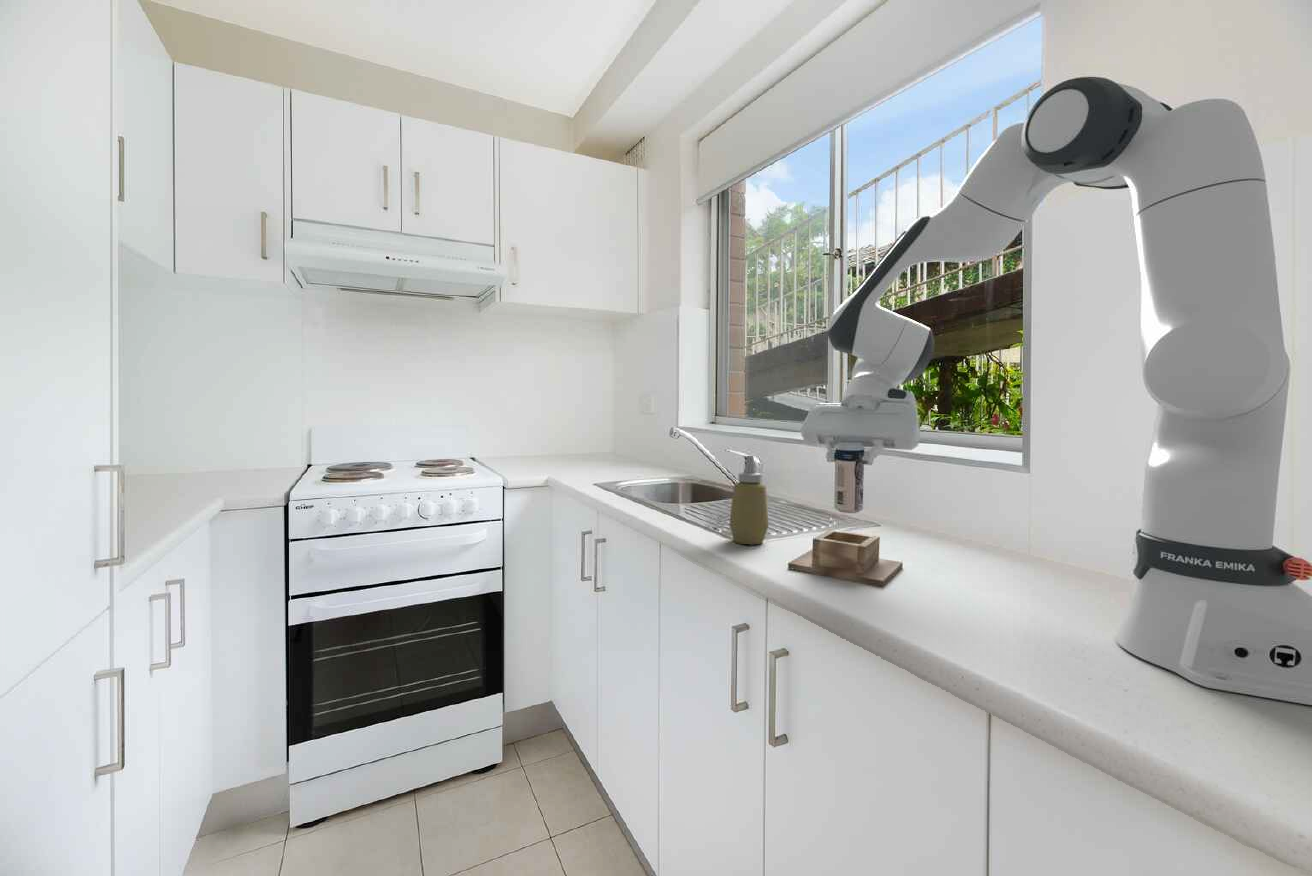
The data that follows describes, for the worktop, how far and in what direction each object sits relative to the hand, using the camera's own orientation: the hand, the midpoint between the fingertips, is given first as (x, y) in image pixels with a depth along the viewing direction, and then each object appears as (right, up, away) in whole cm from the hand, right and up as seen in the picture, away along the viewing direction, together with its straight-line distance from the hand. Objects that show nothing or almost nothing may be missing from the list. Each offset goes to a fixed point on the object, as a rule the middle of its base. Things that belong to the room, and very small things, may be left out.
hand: (848, 461), depth 99 cm
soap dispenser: (-14, -18, +20) cm, 30 cm away
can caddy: (0, -19, +2) cm, 19 cm away
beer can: (0, -9, +1) cm, 9 cm away
